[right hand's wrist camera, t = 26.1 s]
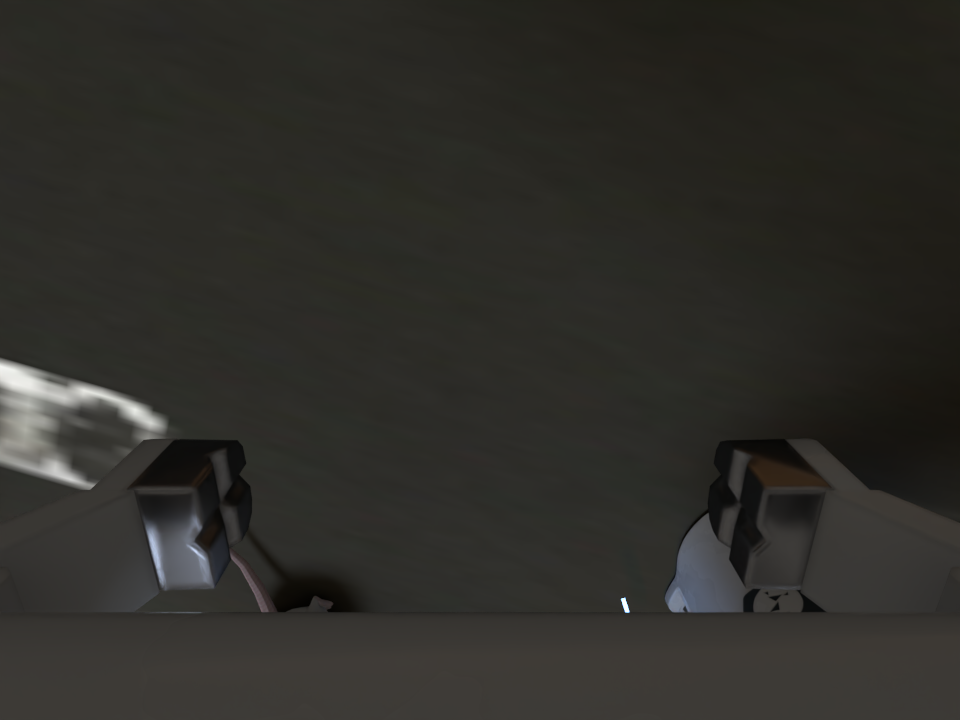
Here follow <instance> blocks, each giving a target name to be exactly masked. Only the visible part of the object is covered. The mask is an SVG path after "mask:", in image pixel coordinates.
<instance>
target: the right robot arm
mask: <svg viewBox="0 0 960 720" xmlns="http://www.w3.org/2000/svg"><path fill="white" fill-rule="evenodd" d="M245 465H246V460H245V455H244V450H243V446H242V445H241V444H240V443H239V442H238V440H198V439H179V440H178V439H149V440H143V441H142V442H141V443H140V444H139V445H138V446H137V447H136V448H135V449H134V450H133V451H132V452H130V453H129V454H128V455H127V456H126V457H125V458H124V459H123V460H122V461H121V462H120V463H119V464H118V465H117V466H115V467H114V468H113V469H112V470H111V471H110V472H109V473H108V474H107V475H106V476H105V477H104V478H103V479H101V480H100V481H99V482H98V483H97V484H96V485H95V486H94V487H93V488H92V489H91V490H80V491H77V492H75V493H72V494H70V495H67V496H65V497H62V498H60V499H58V500H55V501H53V502H50V503H48V504H45V505H43V506H40V507H38V508H36V509H33V510H31V511H28V512H26V513H23V514H21V515H18V516H16V517H14V518H11V519H9V520H6V521H4V522H1V523H0V720H960V523H958V522H956V521H954V520H951V519H949V518H946V517H944V516H941V515H939V514H937V513H934V512H932V511H929V510H927V509H924V508H922V507H919V506H917V505H915V504H912V503H910V502H907V501H905V500H902V499H900V498H898V497H895V496H893V495H890V494H888V493H885V492H883V491H881V490H869V489H868V488H867V487H866V486H865V485H864V484H863V483H862V482H861V481H860V480H859V479H858V478H856V477H855V476H854V475H853V474H852V473H851V472H850V471H849V470H848V469H847V468H846V467H845V466H844V465H843V464H841V463H840V462H839V461H838V460H837V459H836V458H835V457H834V456H833V455H832V454H831V453H830V452H829V451H828V450H826V449H825V448H824V447H823V446H822V445H821V444H820V443H819V442H818V441H816V440H813V439H810V438H807V439H768V440H727V441H721V442H720V443H719V445H718V447H717V450H716V454H715V459H714V465H715V466H716V468H717V469H718V471H719V472H720V474H721V475H720V476H719V477H718V478H717V479H716V480H715V481H714V482H713V483H712V484H711V485H710V489H709V497H708V512H709V513H707V514H706V515H705V516H703V517H702V518H701V519H700V520H699V521H698V522H697V523H696V524H695V525H694V526H693V527H692V528H691V529H690V531H689V532H688V533H687V535H686V537H685V538H684V540H683V542H682V544H681V547H680V550H679V553H678V558H677V569H676V575H675V578H674V580H673V581H672V583H671V585H670V586H669V588H668V590H667V592H666V594H665V601H666V603H667V605H668V607H669V609H670V610H671V611H672V612H629V610H628V607H627V604H626V600H625V598H623V599H622V602H623V606H624V609H625V612H134V611H136V610H137V609H138V608H140V607H141V606H142V605H144V604H145V603H146V602H148V601H149V600H150V599H152V598H153V597H154V596H156V595H157V594H158V593H159V590H177V589H213V588H215V586H216V585H217V583H218V581H219V580H220V578H221V576H222V574H223V573H224V571H225V569H226V567H227V566H228V564H229V562H230V561H231V555H230V550H229V548H231V547H233V546H234V545H236V544H237V543H239V542H241V541H242V539H243V537H244V536H245V534H246V532H247V530H248V527H249V523H250V518H251V514H252V496H251V489H250V485H249V484H248V483H247V482H246V481H245V480H244V479H243V478H242V477H241V476H240V475H239V474H240V472H241V471H242V469H243V468H244V466H245ZM685 606H686V607H685Z"/></svg>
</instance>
